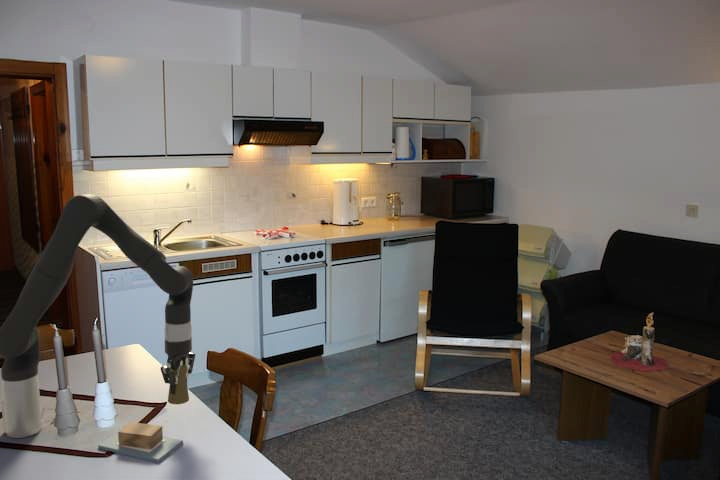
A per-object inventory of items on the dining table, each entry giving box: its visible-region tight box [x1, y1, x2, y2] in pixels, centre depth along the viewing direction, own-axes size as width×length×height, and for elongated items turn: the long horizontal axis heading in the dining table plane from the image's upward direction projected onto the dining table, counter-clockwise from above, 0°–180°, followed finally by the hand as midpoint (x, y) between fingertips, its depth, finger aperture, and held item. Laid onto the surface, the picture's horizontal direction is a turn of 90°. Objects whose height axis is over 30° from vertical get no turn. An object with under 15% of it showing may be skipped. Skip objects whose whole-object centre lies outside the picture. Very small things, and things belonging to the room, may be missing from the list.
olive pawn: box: [167, 364, 190, 405], centre depth 181 cm, size 6×6×11 cm
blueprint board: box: [97, 432, 184, 464], centre depth 175 cm, size 20×11×1 cm, turn 70°
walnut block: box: [117, 421, 164, 449], centre depth 174 cm, size 10×6×4 cm, turn 79°
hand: (178, 392), depth 181 cm, fingers closed on olive pawn, 3 cm apart
